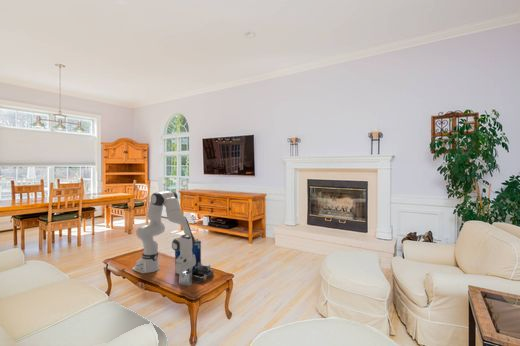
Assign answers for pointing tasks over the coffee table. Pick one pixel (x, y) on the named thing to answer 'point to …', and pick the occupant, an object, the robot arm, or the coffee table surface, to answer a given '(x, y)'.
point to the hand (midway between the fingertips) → (186, 275)
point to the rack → (202, 273)
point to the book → (195, 250)
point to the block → (186, 278)
